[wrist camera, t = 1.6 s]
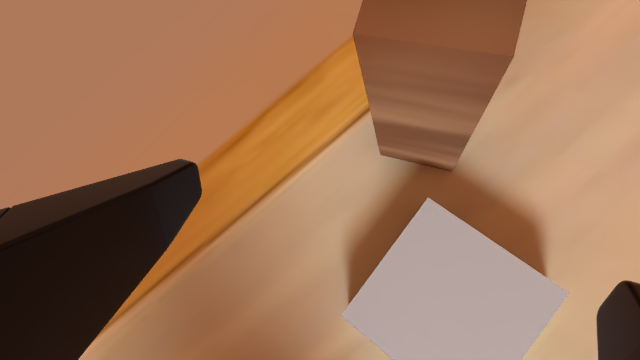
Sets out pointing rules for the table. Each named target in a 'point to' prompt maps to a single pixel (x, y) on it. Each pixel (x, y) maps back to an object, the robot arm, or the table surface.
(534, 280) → the base
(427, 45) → the walnut block
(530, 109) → the table surface
